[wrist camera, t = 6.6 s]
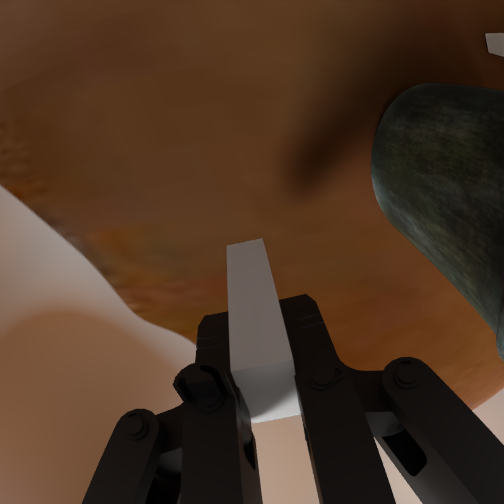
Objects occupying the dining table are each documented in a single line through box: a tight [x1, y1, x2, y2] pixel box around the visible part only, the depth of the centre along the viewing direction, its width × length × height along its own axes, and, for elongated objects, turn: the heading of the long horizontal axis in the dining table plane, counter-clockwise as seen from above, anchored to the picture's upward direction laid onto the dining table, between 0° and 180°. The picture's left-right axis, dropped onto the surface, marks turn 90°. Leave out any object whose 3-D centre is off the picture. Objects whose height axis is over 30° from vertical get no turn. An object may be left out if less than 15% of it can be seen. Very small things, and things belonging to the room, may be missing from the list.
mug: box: [371, 83, 504, 361], centre depth 11 cm, size 11×15×12 cm
